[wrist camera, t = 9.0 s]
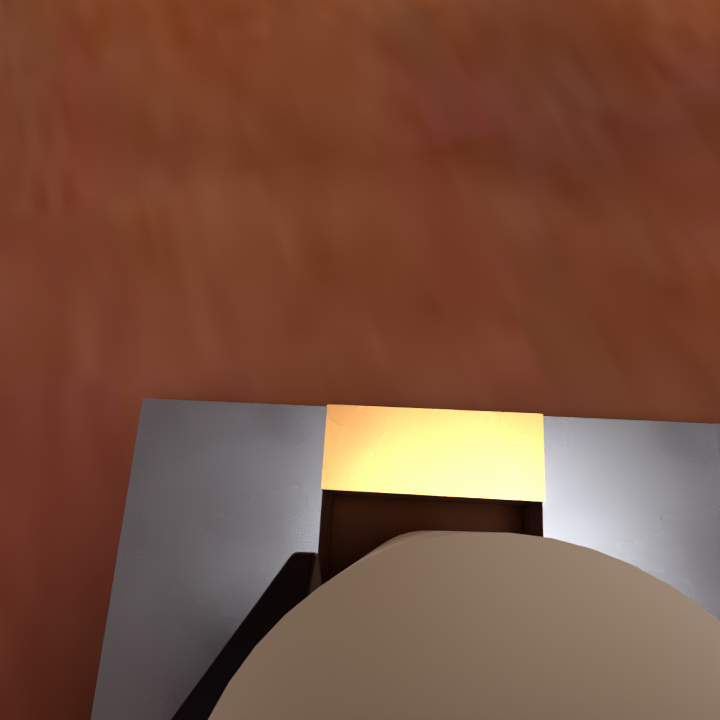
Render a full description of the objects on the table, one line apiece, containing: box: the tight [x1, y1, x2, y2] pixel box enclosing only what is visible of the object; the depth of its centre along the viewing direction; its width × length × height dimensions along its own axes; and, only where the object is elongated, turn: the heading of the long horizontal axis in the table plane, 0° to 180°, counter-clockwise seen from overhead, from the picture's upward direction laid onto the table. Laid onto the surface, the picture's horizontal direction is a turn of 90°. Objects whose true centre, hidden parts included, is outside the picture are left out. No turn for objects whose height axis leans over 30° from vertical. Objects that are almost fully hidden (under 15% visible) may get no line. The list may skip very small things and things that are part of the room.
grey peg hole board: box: [91, 398, 720, 720], centre depth 15 cm, size 26×10×3 cm, turn 87°
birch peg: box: [208, 531, 720, 720], centre depth 9 cm, size 4×4×13 cm
